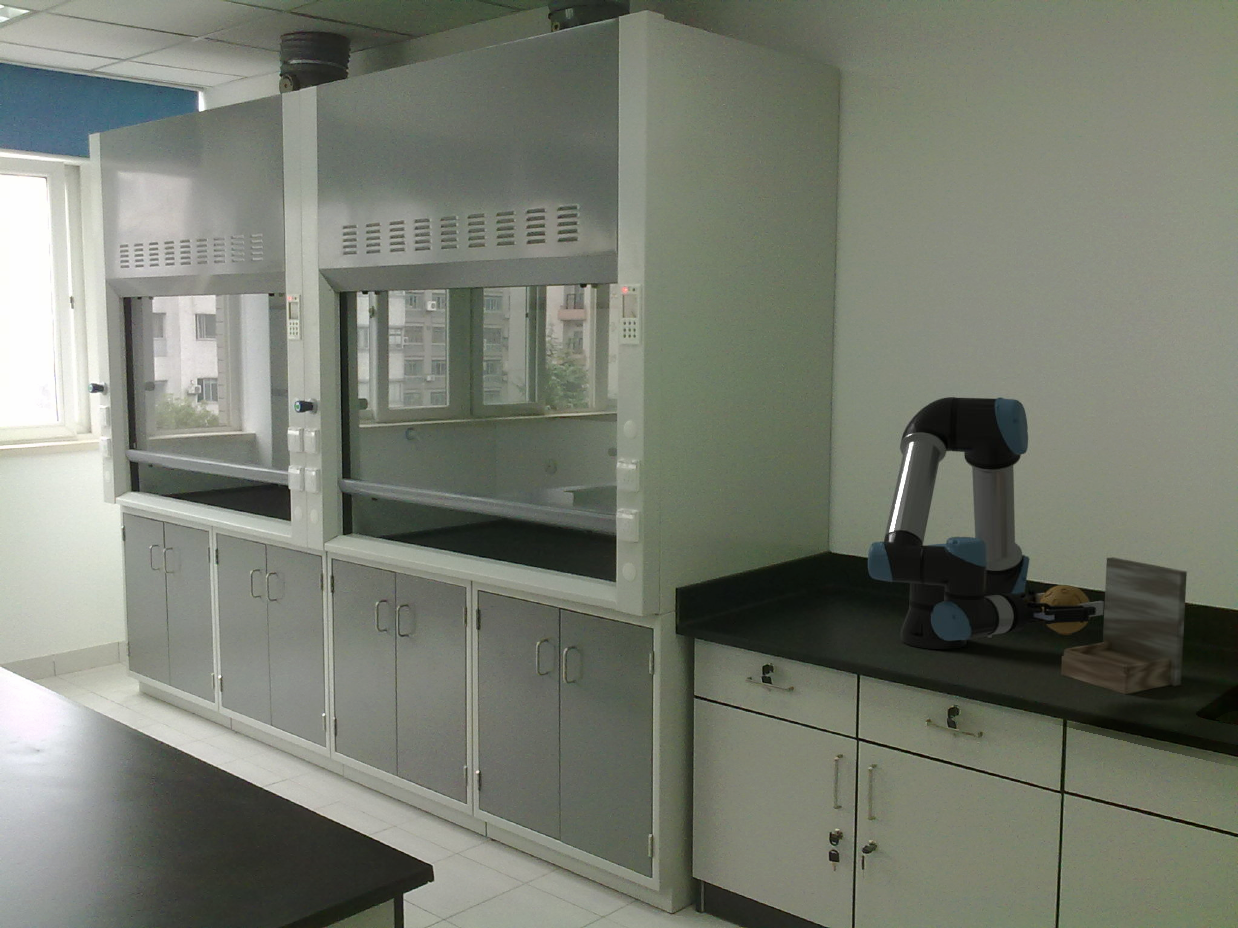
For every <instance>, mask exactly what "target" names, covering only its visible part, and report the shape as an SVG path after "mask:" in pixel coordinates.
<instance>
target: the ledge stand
mask: <svg viewBox="0 0 1238 928" xmlns="http://www.w3.org/2000/svg"><path fill="white" fill-rule="evenodd" d="M1105 568H1106V569H1105V587H1104V590H1105V591H1104V606H1103V628H1102V629H1103V632H1102V642H1097V643H1090V644H1085V645H1080V646H1079V645H1078V646H1073V647H1070V648H1069V647H1068V648H1065V649H1063V655H1062V656H1061V671H1060V674H1061V675H1062V676H1064V677H1065V676H1066V677H1068V678H1072V679H1075V680H1078V681H1081V682H1085V683H1086V684H1091V685H1094V686H1098V687H1101V688H1104V689H1106V690H1110V691H1113V692H1116V693H1120V694H1123V695H1128V694H1133V693H1136V692H1137V693H1138V692H1143V691H1147V690H1151V689H1157V688H1161V687H1165V686H1173V687H1175V686H1181V683H1182V670H1183V669H1182V666H1183V648H1184V629H1185V615H1186V613H1185V610H1186V596H1187V595H1186V592H1187V576H1188V575H1187V573H1188V571H1186V570H1182V569H1176V568H1171V567H1165V566H1161V565H1156V564H1150V563H1147V562H1145V563H1144V562H1140V561H1134V560H1129V559H1124V558H1119V557H1114V556H1113V557H1112V556H1110V557H1107V558H1106V567H1105Z"/></svg>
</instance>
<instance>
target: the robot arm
mask: <svg viewBox="0 0 1238 928" xmlns="http://www.w3.org/2000/svg"><path fill="white" fill-rule="evenodd" d="M1028 428H1029V427H1028V420H1027V414H1026V409H1025V407H1024V405H1023V404H1022V402H1020V400H1018V399H1014V398H1004V397H997V398H988V397H987V398H985V397H983V398H982V397H956V396H951V397H950V396H949V397H942V398H939V399H936V400H934V401H932V402H930V403H929V404H927V405H925V406H923V408H921V409H920V410H919V411H918V412H917V413H915V415H914V416H913V417H911V420H910V421H909V422H908V424H907V425H906V426H905V429H904V431H903V433H902V437H901V440H900V445H899V450H900V452H901V455H902V458H901V461H900V462H901V463H900V466H899V472H898V475H897V480H896V485H895V489H894V494H893V499H892V502H891V508H890V510H889V515H888V520H887V525H886V529H885V533H884V540H883V541H874V542H872V543H871V545H870V546H869V548H868V554H867V570H868V575H869V576H870V577H871V578H872V579H874V580H877V581H878V580H879V581H882V582H883V581H884V582H890V583H893V582H894V583H907V584H909V601H908V605H909V606H908V611H907V613H906V616H905V619H904V621H903V624H902V627H901V631H900V641H901V642H902V643H904V644H906V645H908V646H912V647H916V648H923V649H928V650H954V649H960V648H963V647H965V646H966V645H967V640H970V639H975V638H981V637H987V638H990V639H991V638H992V637H993V635H999V634H1007V633H1013V632H1014V633H1015V632H1019V631H1021V630H1023V629H1024V628H1025V627H1026V626H1027V625H1028V623H1035V622H1044V625H1046V624H1053V623H1064V622H1081V623H1083V622H1084V621H1085V622H1087V621H1088V622H1089V621H1090V619H1089V617H1090V618H1092V617H1098V616H1104V606H1105V601H1102V600H1098V601H1097V600H1096V601H1090V602H1089V603H1082V604H1078V606H1052V605H1049V604H1047V603H1039V600H1040V598H1042V597H1043V595H1044V593H1045V592H1040V593H1035V590H1031V589H1030V590H1028V594H1026V592H1025V590H1026V585H1027V584H1026V583H1027V579H1028V573H1029V572H1028V571H1029V565H1030V557H1029V556H1028V555H1027V556H1026V555H1025V554H1023V551H1022V548H1021V547H1020V545H1019V544H1017V542H1016V527H1015V526H1016V525H1015V524H1016V523H1015V521H1016V520H1015V481H1014V479H1015V477H1014V473H1015V472H1014V471H1015V470H1014V466H1015V465H1016V464H1017V463H1018V462H1019V461H1020V459H1021V456H1022V455H1024V454H1026V453H1027V451H1028V448H1029V447H1028V446H1029V433H1028ZM947 452H955V453H956V452H957V453H959V452H961V453H964V454H963V455H964V459H965V462H966V463H967V465H969V466H971V467H972V471H971V473H972V474H971V475H972V492H973V514H974V515H973V517H974V520H973V521H974V536H975V537H972V536H951V537H948V538H947V539H946V542H945V543H934V544H933V543H932V544H927V545H924V541H925V536H926V531H927V525H928V521H929V516H930V512H931V511H930V510H931V505H932V500H933V495H934V491H935V485H936V480H937V475H938V471H939V470H938V469H939V464H940V462H942V461H943V460H944V458H945V457H946V456H947V455H946V454H947ZM1042 607H1044V613H1042Z"/></svg>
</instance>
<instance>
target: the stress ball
mask: <svg viewBox="0 0 1238 928" xmlns="http://www.w3.org/2000/svg"><path fill="white" fill-rule="evenodd" d="M1043 593H1044V595H1043V597H1042V598H1040V600H1039V603H1047V604H1049V605H1052V606H1078V604H1082V603H1089V602H1091V601H1090V599H1089V598H1088V595H1086V593H1085V592H1083V591H1082V590H1081V589H1080V588H1078V587H1076V586H1074V585H1070V584H1059V585H1055V586H1053V587H1050V588H1049V589H1048V590H1046V591H1045V592H1043ZM1042 613H1044V607H1042ZM1090 619H1091V617H1089V620H1090ZM1088 622H1089V621H1087V622H1085V621H1084V622H1083V623H1081V622H1064V623H1053V624H1045V625H1046V626H1047V627H1048V628H1049V629H1051V630H1053V631H1055V632H1056V633H1057V634H1058V635H1062V636H1063V635H1064V636H1068V635H1073V633H1076V632H1078V631H1080V630H1082V629H1083V628H1084V627H1085V626H1086V625H1087V624H1088Z"/></svg>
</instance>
